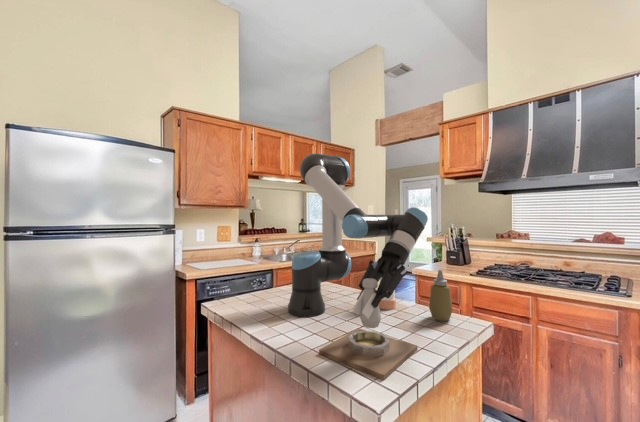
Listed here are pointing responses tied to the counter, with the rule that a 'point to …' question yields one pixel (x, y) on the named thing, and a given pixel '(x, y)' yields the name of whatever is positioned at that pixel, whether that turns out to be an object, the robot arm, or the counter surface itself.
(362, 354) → the collar board
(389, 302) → the pepper shaker
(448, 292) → the squeeze bottle
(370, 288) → the salt shaker
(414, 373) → the counter surface
